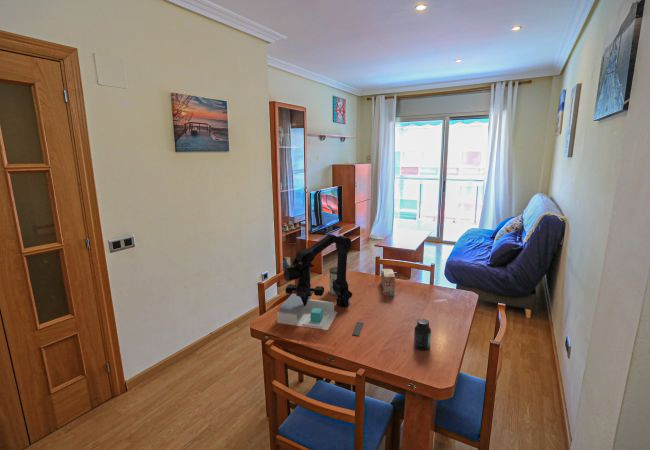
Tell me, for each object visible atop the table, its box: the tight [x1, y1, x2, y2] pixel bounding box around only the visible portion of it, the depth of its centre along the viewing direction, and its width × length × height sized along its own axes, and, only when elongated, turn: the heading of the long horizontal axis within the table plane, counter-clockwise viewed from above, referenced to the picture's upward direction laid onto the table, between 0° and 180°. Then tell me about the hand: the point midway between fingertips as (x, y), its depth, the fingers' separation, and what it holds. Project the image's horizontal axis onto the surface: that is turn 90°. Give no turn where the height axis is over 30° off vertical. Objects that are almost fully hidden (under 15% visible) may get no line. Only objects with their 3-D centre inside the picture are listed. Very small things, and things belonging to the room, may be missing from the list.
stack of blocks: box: [380, 268, 396, 297], centre depth 207 cm, size 21×6×12 cm, turn 176°
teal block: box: [310, 308, 323, 323], centre depth 168 cm, size 5×5×5 cm
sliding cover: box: [278, 293, 311, 314], centre depth 173 cm, size 10×18×2 cm, turn 164°
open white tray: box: [276, 299, 338, 331], centre depth 171 cm, size 26×19×6 cm
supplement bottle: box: [413, 318, 432, 351], centre depth 145 cm, size 7×7×12 cm
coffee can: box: [328, 266, 337, 296], centre depth 204 cm, size 10×10×14 cm
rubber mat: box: [352, 321, 364, 337], centre depth 162 cm, size 12×12×1 cm
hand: (305, 305), depth 169 cm, fingers closed
